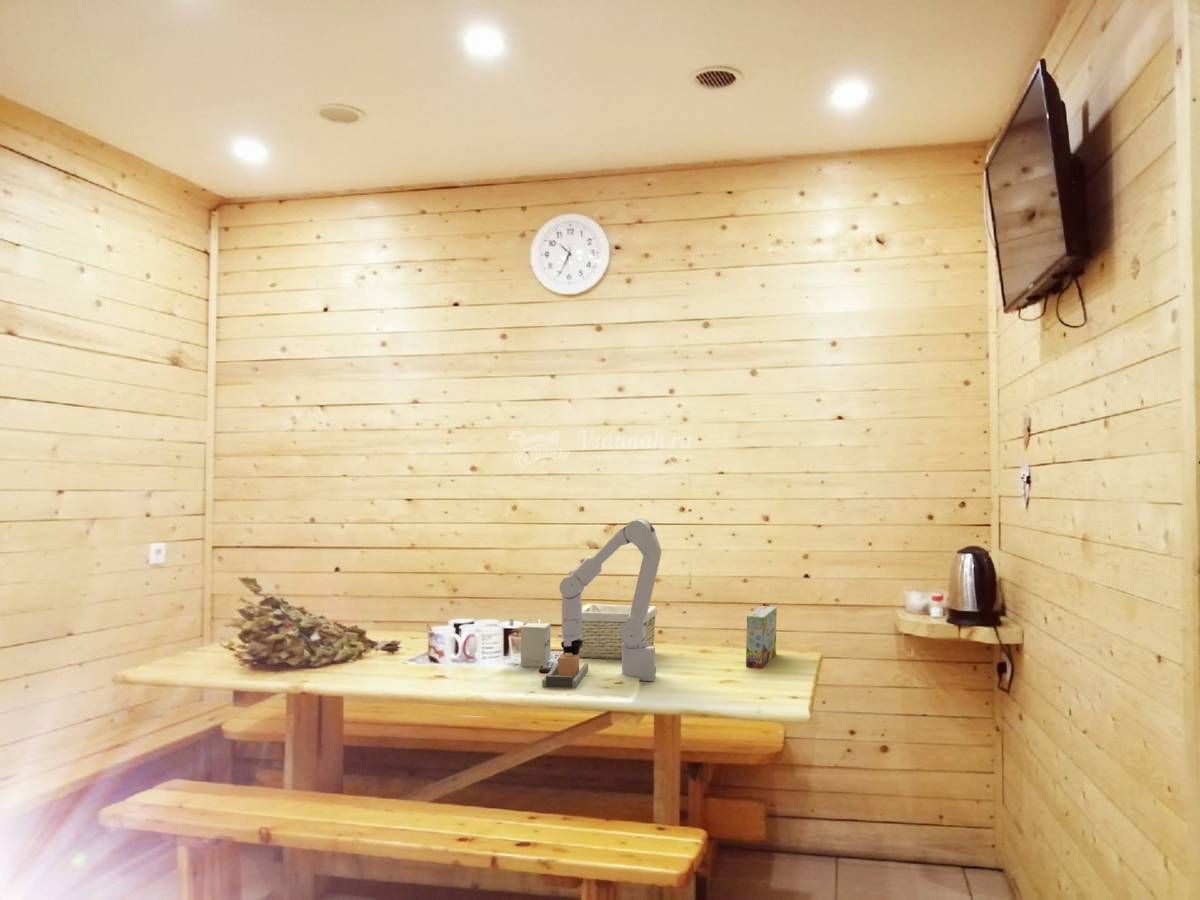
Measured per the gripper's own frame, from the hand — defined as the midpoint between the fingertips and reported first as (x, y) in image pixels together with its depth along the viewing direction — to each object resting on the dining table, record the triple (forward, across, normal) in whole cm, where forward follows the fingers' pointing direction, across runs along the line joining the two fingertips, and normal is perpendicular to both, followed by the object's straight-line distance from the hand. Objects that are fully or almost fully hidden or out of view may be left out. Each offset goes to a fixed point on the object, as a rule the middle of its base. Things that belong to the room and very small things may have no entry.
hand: (572, 666), depth 242 cm
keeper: (+1, +5, 0) cm, 5 cm away
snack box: (+2, -25, +54) cm, 59 cm away
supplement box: (+2, -7, -12) cm, 14 cm away
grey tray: (+2, +9, 0) cm, 10 cm away
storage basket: (+3, -28, +9) cm, 29 cm away
